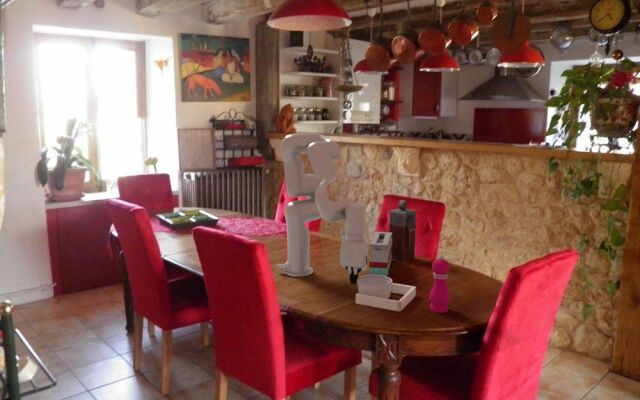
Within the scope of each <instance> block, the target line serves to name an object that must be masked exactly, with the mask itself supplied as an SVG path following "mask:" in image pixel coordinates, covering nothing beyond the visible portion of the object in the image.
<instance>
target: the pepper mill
mask: <svg viewBox="0 0 640 400" xmlns="http://www.w3.org/2000/svg"><path fill="white" fill-rule="evenodd" d="M431 268H432V271H433V275H432V276H433V279H434V283H433V286H432V288H431V290H430V291H429V292H430V293H429V294H428V295H429V296H428V299H429V301H430V304H429V305H430V306H429V309H430V311H432V312H434V313H437V314H443V313H447V312H448V311H449V305H448V304H449V303H450V302H451V295H450V292H449V289H448V286H447V279H448V278H449V277H448V276H449V273H448V272H449V271H450V269H451V267H450V263H449V262H448V260H447V259H445V256H444V255H443V254H440V255H438V258H437V259H435V260H434V261H433V262H432V265H431Z"/></svg>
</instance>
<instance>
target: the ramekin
mask: <svg viewBox="0 0 640 400" xmlns="http://www.w3.org/2000/svg"><path fill="white" fill-rule="evenodd" d="M392 283H393V279H392V278H391V277H389V276H387V277H386V276H382V275H369V274H365V275H361V276H358V279H357V283H356V284H357V289H358V294H363V295H369V296H375V297H380V298H386V299H390V297H391V293H392V292H391V286H392Z"/></svg>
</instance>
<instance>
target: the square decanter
mask: <svg viewBox="0 0 640 400" xmlns="http://www.w3.org/2000/svg"><path fill="white" fill-rule="evenodd" d="M388 221H389V222H388V223H389V224H388V225H389V226H388V229H389V230H388V232H390V233H392V258H391V260H392V259H393V260H392V261H396V260H397V261H396V262H401V263H406V262H409V261H412V260H415V259H414V258H415V256H416V227H417V225H416V224H417V223H416V222H417V211H416V210H415V209H409V208H408V201H407V200H403V199H401V200H399V202H398V208H395V209H391V210H389V219H388ZM411 259H412V260H411Z"/></svg>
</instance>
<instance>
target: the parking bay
mask: <svg viewBox="0 0 640 400" xmlns="http://www.w3.org/2000/svg"><path fill="white" fill-rule="evenodd" d="M391 293H393V294H398V295H403V296H402V297H401V298H400V299H399V300H397V299H390V298H388V299H386V298H380V297H375V296H369V295H363V294H359V292H356V293H355V304H358V305H363V306H367V307H368V306H369V307H373V308H379V309H384V310H389V311H395V312H399V313H400V312H401V311H402V310H404V308H405V307H407V305H408V304H409V303H410V302H412V301H413V300H414V298H415V297H416V295H417V286H415V285H407V284H402V283H401V284H400V283H394V282H392V286H391Z"/></svg>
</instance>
